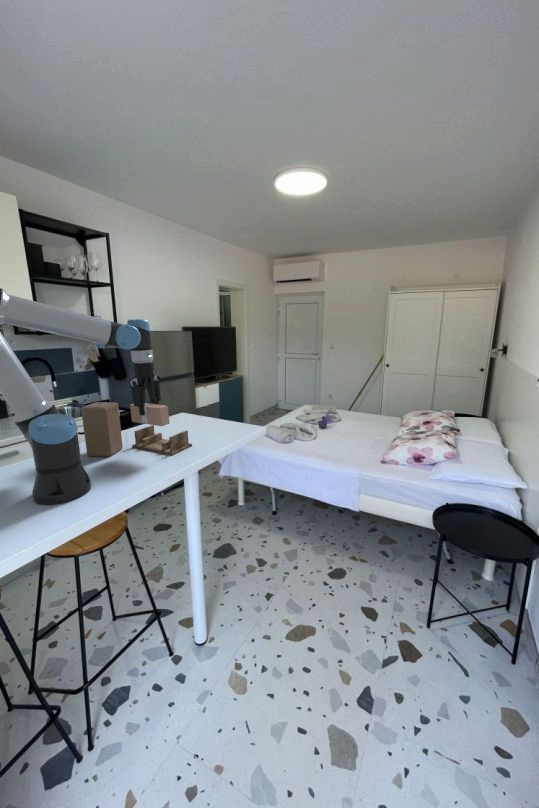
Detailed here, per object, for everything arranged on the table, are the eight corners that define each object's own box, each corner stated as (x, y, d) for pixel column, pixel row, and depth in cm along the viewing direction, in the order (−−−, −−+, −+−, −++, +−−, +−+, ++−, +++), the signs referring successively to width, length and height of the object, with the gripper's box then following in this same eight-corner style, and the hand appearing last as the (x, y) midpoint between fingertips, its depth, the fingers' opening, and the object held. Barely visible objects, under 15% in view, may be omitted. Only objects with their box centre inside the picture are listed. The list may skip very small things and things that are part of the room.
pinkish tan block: (161, 426, 125) (159, 408, 123) (132, 421, 132) (129, 404, 130) (169, 423, 128) (167, 405, 127) (140, 419, 135) (138, 402, 134)
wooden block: (123, 448, 139) (118, 402, 135) (110, 457, 129) (104, 407, 125) (101, 447, 140) (95, 401, 136) (86, 456, 130) (79, 407, 126)
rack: (172, 455, 131) (171, 438, 129) (132, 447, 140) (130, 431, 139) (192, 446, 141) (191, 430, 140) (153, 439, 151) (152, 424, 149)
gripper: (131, 364, 116) (139, 428, 121) (166, 359, 130) (172, 416, 136) (116, 364, 119) (125, 426, 124) (153, 359, 134) (159, 414, 139)
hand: (149, 421), depth 130 cm, fingers closed on pinkish tan block, 4 cm apart
